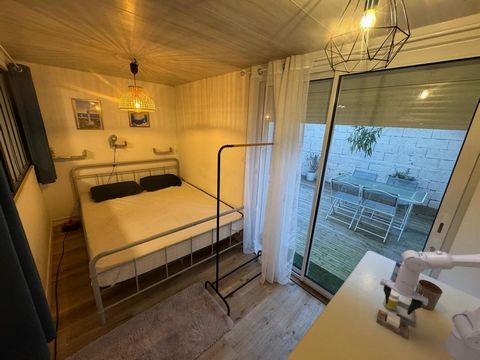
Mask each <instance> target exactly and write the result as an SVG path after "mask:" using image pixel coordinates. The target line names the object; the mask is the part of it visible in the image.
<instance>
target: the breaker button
mask: <svg viewBox="0 0 480 360" xmlns="http://www.w3.org/2000/svg"><path fill="white" fill-rule="evenodd" d="M385 321H386V322H388V323H390V324H391V325H393V326H395V327H397V328H399V325H400V317H398V316H396V314H394V313H392V312H391V311H388V312H387V319H386V318H385Z"/></svg>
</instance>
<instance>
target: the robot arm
mask: <svg viewBox="0 0 480 360" xmlns="http://www.w3.org/2000/svg"><path fill="white" fill-rule="evenodd" d="M400 255H401V258H402V260H401V261H402V264H401V266H400V269H399V273H398V276H397V279H396V282H393V281H391V280H387V279H384V278H381V279H380V283H379V285H380V286H382V287H383V293H384V296H385V297H386V304H388V300H389V296H390V294H391V289H392V290H394V291H396V292H397V293H398V294H399V295H401V296H402V297H406V298H409V299H411V301H410V303H409V305H410V306H409V308H408V310H406V311H407V313H406V314H407V315H408V316H410V315H412V312H413V311H414V310H415V311H416V310H418V309H421V308H422V306H428V303H429V298H428V297H427V296H423V295H422V294H420V293H419V292H417V291H415V289H416V286H417V283H418V280H419V277H420V274H421V273H422V272H424V271H426V270H427V271H428V270H448V271H449V270H452V269H453V268H454V267H463V268H466V267H467V268H477V269H480V254H479V253H478V254H476V253H475V254H474V253H473V254H457V255H454V254H452V255H451V254H449V253H447V252H445V251H441V250H435V251H415V250H413V249H408V250H406V251H405V250H404V252H402V253H400ZM385 297H384V298H385ZM451 321H452V323H453V327H452V328H451V331H450V333H449V335H448V338H447V340H446V342H445V344H444V347H445V350H446V351H447V353H448V354H449V355H450V356H451V357H453V359H455V360H480V306H479V307H477V308H476V309H475V310H474V311H472V310H471V311H470V310H466V309H465V310H464V311H462V312H457V313H454V314H453V315H452V316H451Z"/></svg>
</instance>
